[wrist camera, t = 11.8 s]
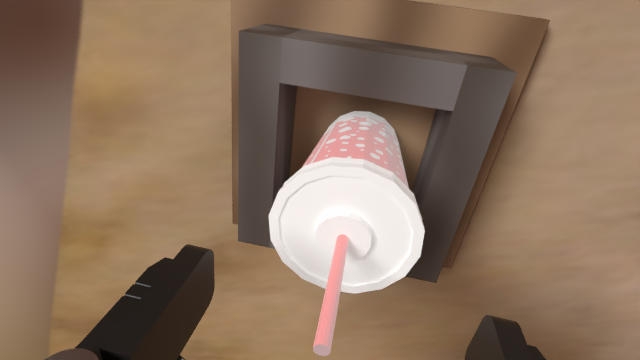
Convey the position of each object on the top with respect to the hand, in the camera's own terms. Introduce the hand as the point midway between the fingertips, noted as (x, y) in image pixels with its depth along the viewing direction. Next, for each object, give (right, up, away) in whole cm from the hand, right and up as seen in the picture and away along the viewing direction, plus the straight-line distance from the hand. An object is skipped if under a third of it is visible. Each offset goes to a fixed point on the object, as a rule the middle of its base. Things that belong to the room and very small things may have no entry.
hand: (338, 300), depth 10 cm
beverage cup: (+2, +6, +11) cm, 13 cm away
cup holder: (+2, +6, +12) cm, 14 cm away
